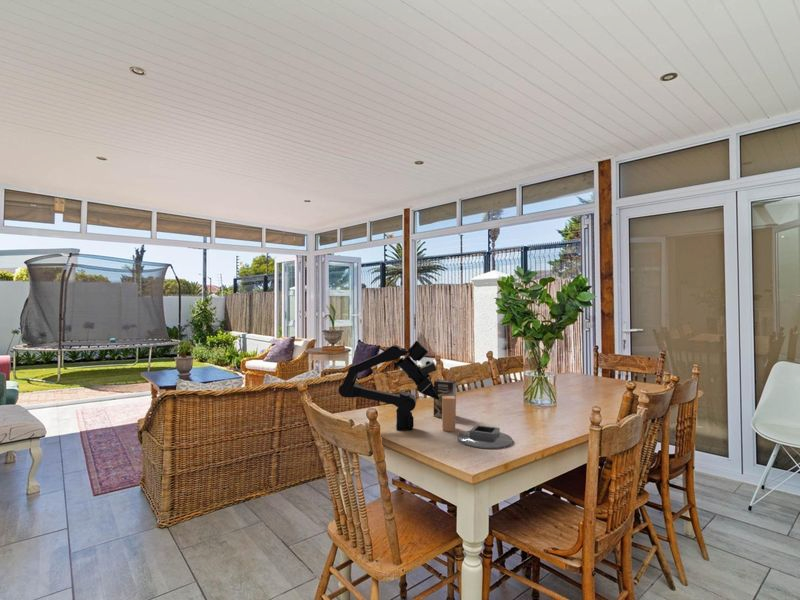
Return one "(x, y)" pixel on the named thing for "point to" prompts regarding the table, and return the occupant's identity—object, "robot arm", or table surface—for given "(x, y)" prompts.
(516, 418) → the table surface
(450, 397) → the tan wooden block
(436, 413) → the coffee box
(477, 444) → the grey disc base
